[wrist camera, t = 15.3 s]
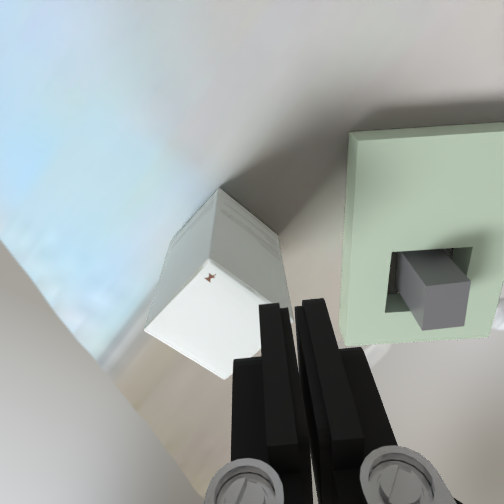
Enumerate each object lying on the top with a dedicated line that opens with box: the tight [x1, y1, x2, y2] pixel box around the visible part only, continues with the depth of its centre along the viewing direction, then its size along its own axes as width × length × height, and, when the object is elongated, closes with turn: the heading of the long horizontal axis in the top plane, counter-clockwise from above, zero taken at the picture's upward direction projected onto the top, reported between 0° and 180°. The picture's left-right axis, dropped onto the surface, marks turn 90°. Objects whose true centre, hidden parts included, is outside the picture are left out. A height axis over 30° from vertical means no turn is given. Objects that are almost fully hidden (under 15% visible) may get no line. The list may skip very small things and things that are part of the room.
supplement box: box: [144, 188, 294, 380], centre depth 33 cm, size 7×7×13 cm
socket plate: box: [339, 122, 504, 346], centre depth 37 cm, size 20×14×3 cm
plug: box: [395, 249, 471, 331], centre depth 37 cm, size 4×4×7 cm
